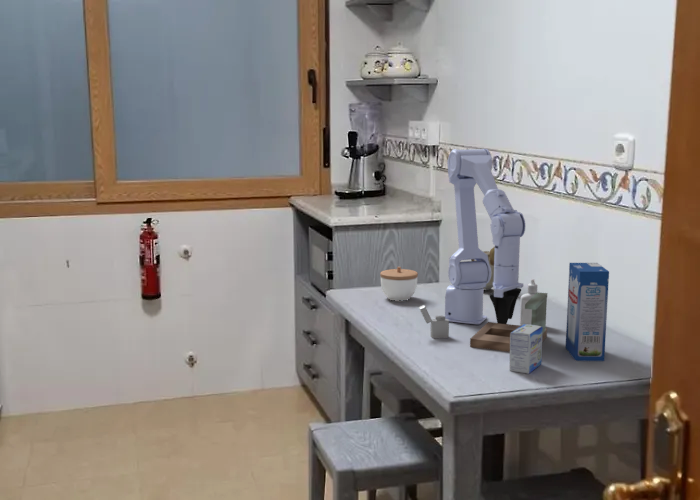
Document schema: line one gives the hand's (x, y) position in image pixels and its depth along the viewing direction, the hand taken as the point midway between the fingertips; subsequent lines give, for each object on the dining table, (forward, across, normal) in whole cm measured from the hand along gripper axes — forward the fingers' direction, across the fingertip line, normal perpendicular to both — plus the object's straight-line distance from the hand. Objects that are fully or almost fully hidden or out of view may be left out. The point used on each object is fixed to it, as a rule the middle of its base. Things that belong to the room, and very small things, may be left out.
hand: (504, 320), depth 196 cm
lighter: (+5, -4, +16) cm, 17 cm away
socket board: (+5, 0, 0) cm, 5 cm away
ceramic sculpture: (+5, +51, +18) cm, 54 cm away
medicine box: (+5, -18, -9) cm, 21 cm away
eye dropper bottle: (+5, +16, -3) cm, 17 cm away
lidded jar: (+5, +30, +38) cm, 49 cm away
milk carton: (+5, -3, -19) cm, 20 cm away
